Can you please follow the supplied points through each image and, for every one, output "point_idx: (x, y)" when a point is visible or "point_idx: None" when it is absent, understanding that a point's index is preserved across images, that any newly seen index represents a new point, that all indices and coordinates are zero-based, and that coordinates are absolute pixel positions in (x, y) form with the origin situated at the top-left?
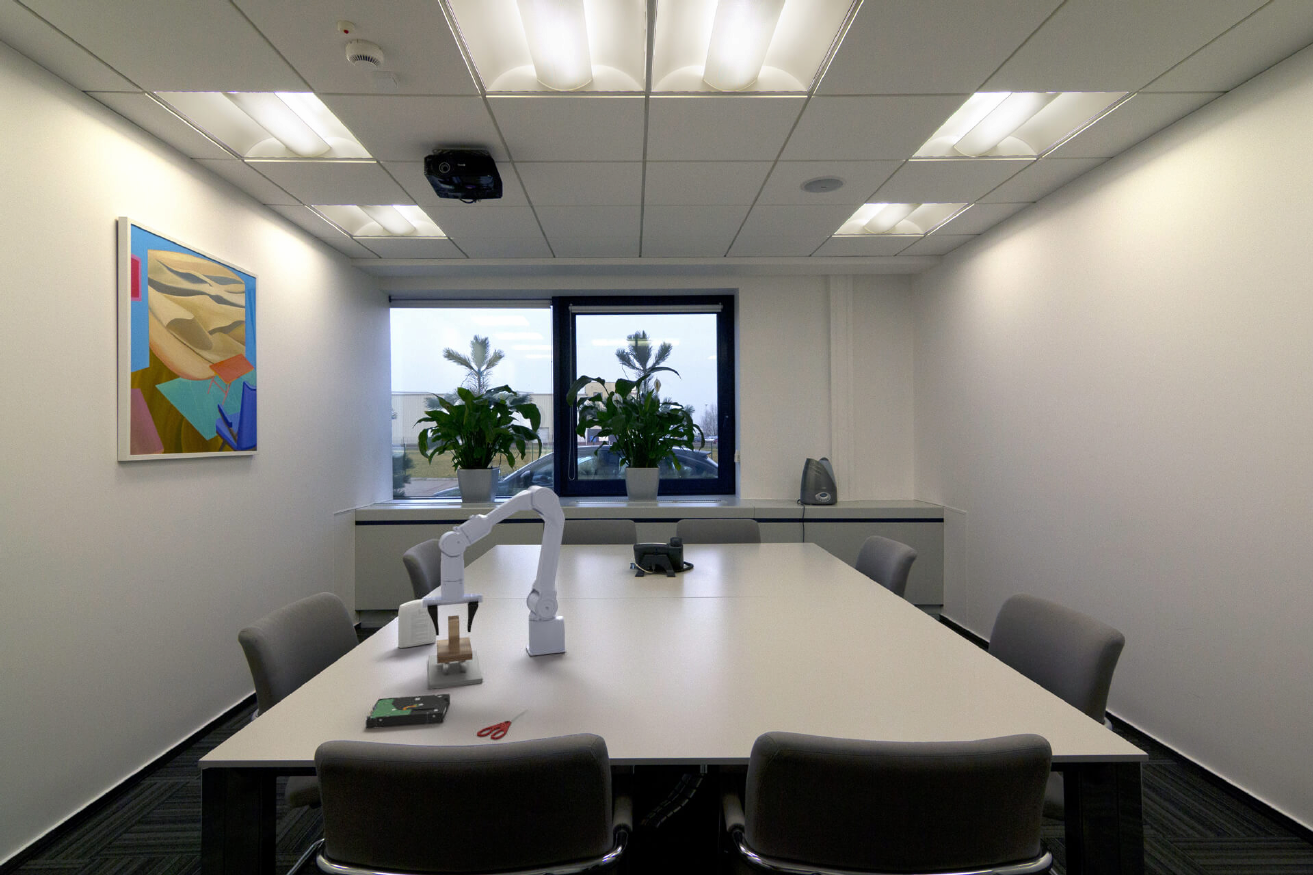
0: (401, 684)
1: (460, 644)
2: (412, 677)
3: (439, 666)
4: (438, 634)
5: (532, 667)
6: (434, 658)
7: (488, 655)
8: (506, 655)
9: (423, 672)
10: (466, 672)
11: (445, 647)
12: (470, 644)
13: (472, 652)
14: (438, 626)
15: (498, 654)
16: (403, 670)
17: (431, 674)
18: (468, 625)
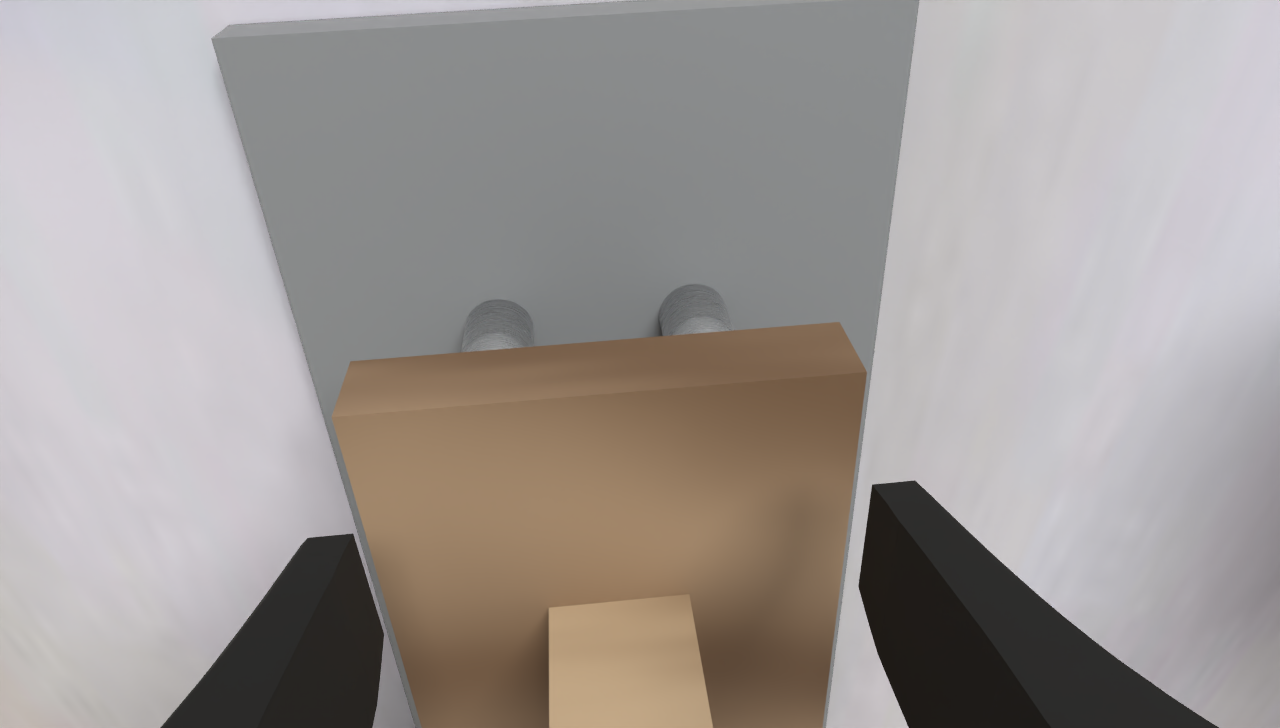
0: (184, 663)
1: (707, 636)
2: (226, 550)
3: None
4: (374, 651)
5: (1257, 537)
6: (334, 191)
7: (1030, 85)
8: (1220, 152)
9: (298, 456)
10: None
11: (521, 697)
12: (827, 655)
13: (848, 72)
14: (321, 644)
15: (1154, 81)
16: (32, 355)
17: None
18: (907, 712)
